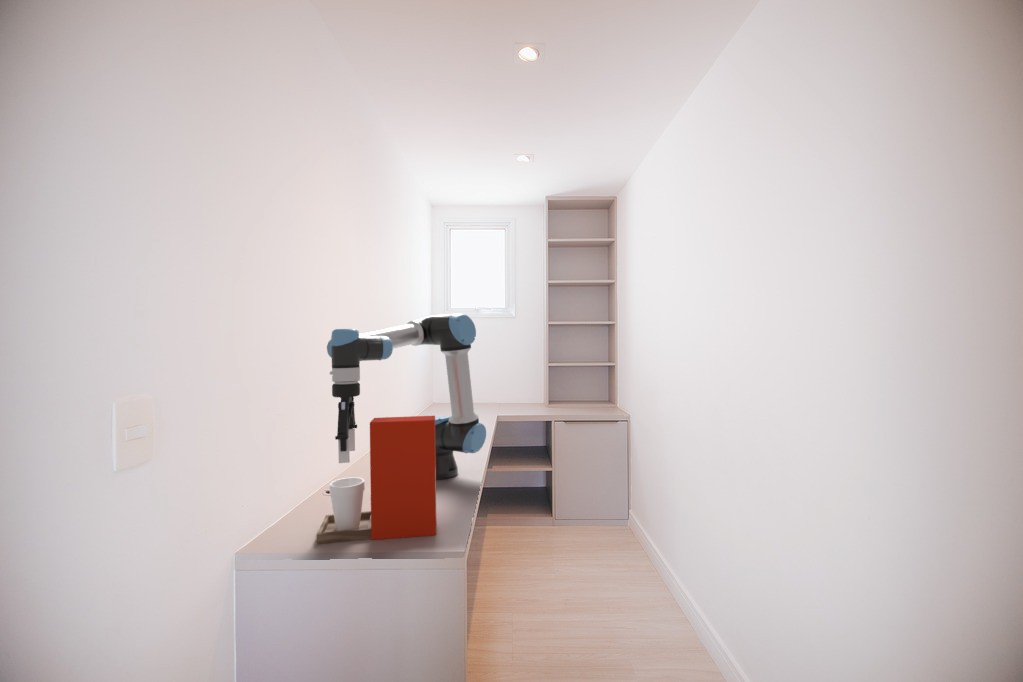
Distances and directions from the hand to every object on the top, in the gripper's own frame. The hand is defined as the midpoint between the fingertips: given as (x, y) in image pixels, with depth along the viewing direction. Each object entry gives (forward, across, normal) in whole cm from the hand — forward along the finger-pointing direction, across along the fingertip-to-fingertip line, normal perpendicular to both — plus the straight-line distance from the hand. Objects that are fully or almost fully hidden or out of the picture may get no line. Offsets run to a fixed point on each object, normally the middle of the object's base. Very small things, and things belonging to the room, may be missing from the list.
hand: (347, 456), depth 128 cm
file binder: (+21, +6, +16) cm, 27 cm away
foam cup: (+20, +1, 0) cm, 20 cm away
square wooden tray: (+21, +1, 0) cm, 21 cm away
